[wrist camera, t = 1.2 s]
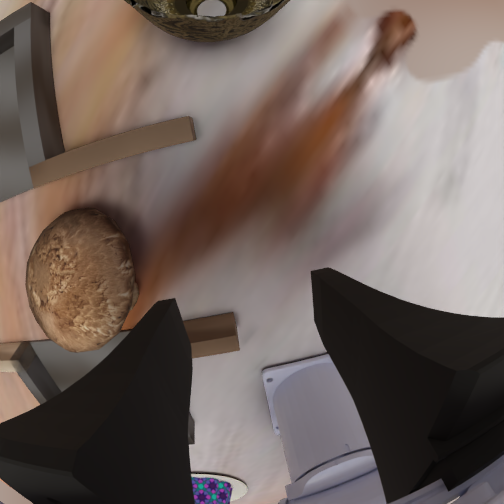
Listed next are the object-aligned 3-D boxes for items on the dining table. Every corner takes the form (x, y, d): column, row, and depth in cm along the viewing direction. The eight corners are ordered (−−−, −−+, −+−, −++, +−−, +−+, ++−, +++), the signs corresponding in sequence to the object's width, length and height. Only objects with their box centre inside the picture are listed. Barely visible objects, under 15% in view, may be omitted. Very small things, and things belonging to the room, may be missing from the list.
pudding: (179, 460, 27) (178, 499, 22) (265, 478, 31) (271, 512, 26) (143, 488, 30) (140, 518, 25) (217, 504, 34) (220, 532, 29)
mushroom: (175, 346, 17) (95, 372, 11) (88, 337, 19) (17, 349, 13) (166, 207, 17) (85, 182, 11) (82, 228, 20) (12, 217, 14)
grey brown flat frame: (258, 412, 24) (262, 434, 22) (28, 421, 23) (22, 437, 21) (168, -30, 11) (163, -50, 9) (-95, 125, 10) (-112, 129, 8)
